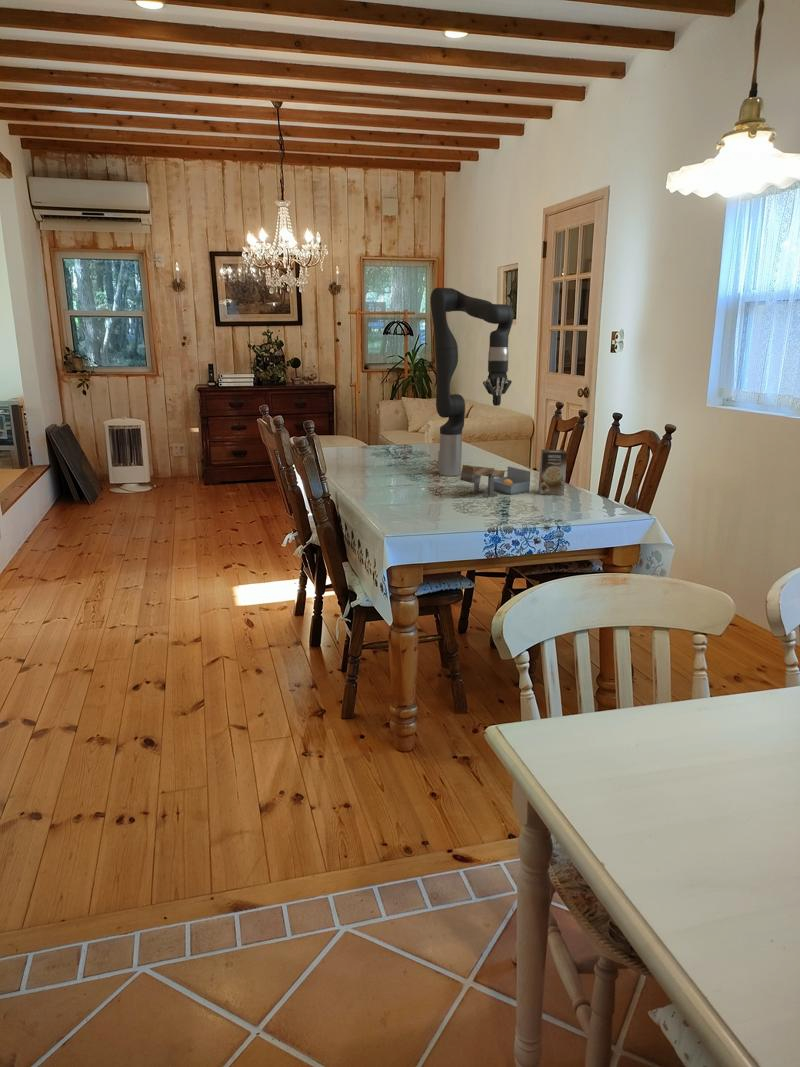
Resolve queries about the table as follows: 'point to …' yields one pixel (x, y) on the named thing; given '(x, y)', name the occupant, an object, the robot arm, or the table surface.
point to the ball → (508, 481)
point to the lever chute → (478, 473)
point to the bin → (514, 481)
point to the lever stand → (490, 487)
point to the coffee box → (552, 472)
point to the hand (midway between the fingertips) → (496, 405)
